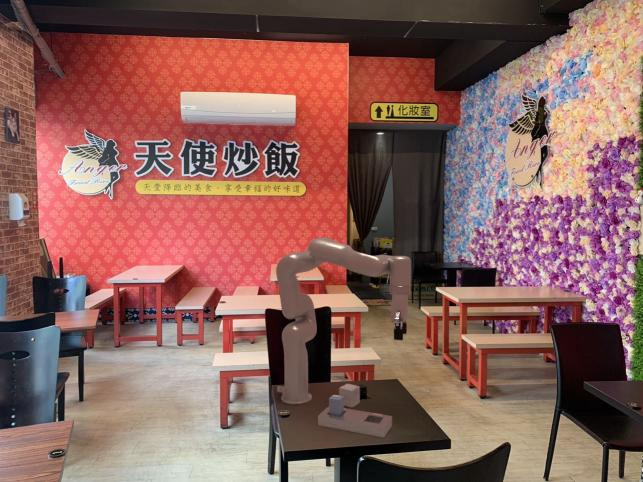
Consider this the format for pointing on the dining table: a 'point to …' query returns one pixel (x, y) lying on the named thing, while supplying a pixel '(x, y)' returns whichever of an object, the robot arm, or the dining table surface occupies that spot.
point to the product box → (350, 394)
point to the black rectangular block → (363, 392)
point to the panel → (357, 422)
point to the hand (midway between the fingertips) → (400, 336)
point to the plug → (336, 405)
